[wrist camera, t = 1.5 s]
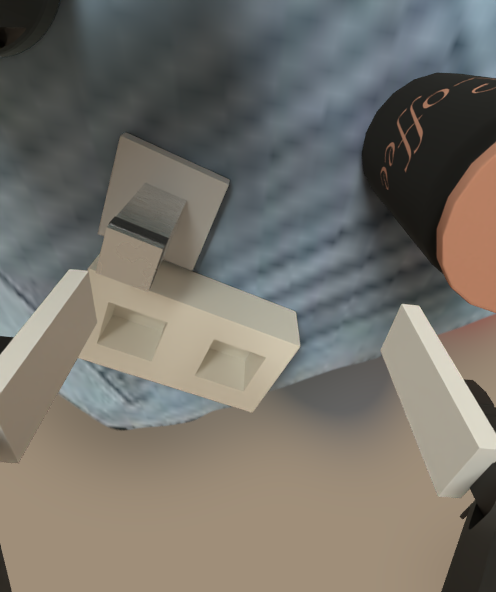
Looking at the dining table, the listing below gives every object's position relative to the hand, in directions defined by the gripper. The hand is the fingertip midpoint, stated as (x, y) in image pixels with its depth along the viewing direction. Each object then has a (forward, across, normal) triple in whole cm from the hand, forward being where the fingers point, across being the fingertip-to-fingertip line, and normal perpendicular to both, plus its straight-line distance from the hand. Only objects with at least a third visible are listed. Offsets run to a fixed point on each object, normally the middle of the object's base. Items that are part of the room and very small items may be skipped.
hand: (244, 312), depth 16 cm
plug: (+20, -8, -5) cm, 22 cm away
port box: (+22, -5, -18) cm, 29 cm away
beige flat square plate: (+22, -8, -5) cm, 24 cm away
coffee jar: (+22, +14, +4) cm, 27 cm away
